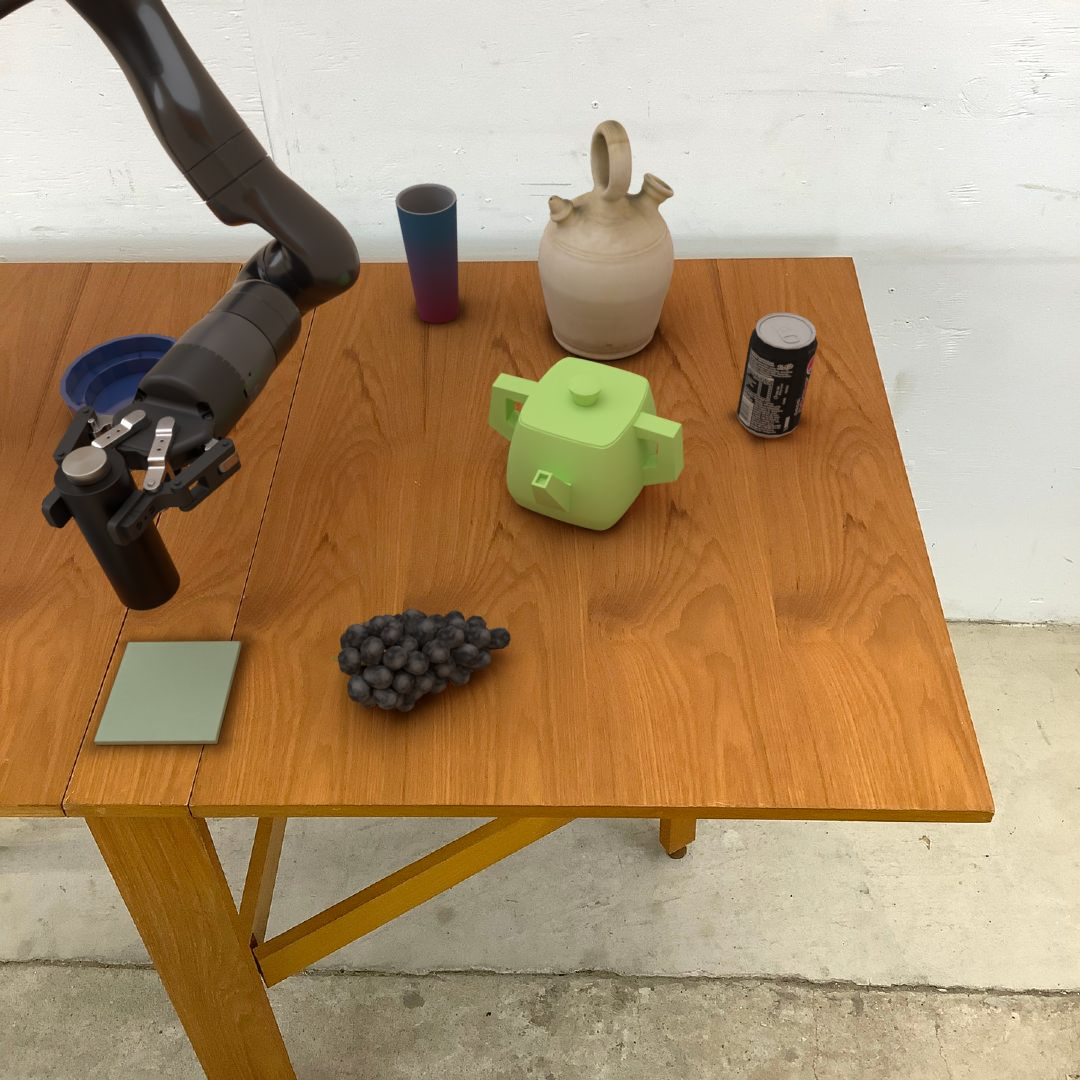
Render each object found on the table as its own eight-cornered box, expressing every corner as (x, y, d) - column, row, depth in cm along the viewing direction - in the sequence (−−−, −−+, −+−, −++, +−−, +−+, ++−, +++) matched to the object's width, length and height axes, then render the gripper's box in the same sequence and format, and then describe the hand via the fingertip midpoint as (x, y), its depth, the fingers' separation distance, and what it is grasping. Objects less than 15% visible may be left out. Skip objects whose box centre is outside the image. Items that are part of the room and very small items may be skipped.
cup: (447, 289, 124) (435, 177, 112) (477, 314, 120) (468, 201, 109) (400, 308, 121) (383, 195, 110) (429, 335, 117) (415, 221, 106)
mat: (96, 745, 81) (93, 741, 80) (130, 645, 87) (127, 641, 87) (217, 744, 80) (215, 740, 80) (242, 644, 87) (240, 640, 87)
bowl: (57, 449, 105) (40, 417, 101) (97, 366, 114) (83, 334, 111) (189, 447, 105) (177, 415, 101) (219, 364, 114) (208, 332, 111)
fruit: (501, 568, 81) (318, 612, 77) (530, 661, 78) (341, 711, 74) (495, 605, 88) (328, 646, 85) (520, 691, 85) (349, 737, 82)
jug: (662, 291, 122) (681, 89, 104) (671, 369, 112) (693, 160, 93) (540, 291, 123) (536, 90, 104) (537, 369, 112) (533, 161, 94)
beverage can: (783, 397, 108) (803, 305, 100) (808, 436, 104) (831, 343, 95) (726, 407, 108) (741, 315, 99) (750, 447, 103) (767, 355, 94)
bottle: (106, 602, 77) (32, 476, 67) (141, 557, 80) (76, 430, 70) (158, 617, 76) (92, 491, 65) (192, 571, 79) (133, 444, 68)
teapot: (634, 592, 90) (643, 493, 81) (444, 528, 96) (430, 427, 86) (699, 466, 101) (713, 365, 92) (524, 414, 107) (521, 314, 98)
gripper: (118, 325, 78) (-26, 469, 68) (277, 358, 75) (152, 515, 64) (148, 397, 84) (20, 540, 73) (298, 431, 81) (186, 586, 70)
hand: (83, 527), depth 69 cm, fingers closed on bottle, 5 cm apart
